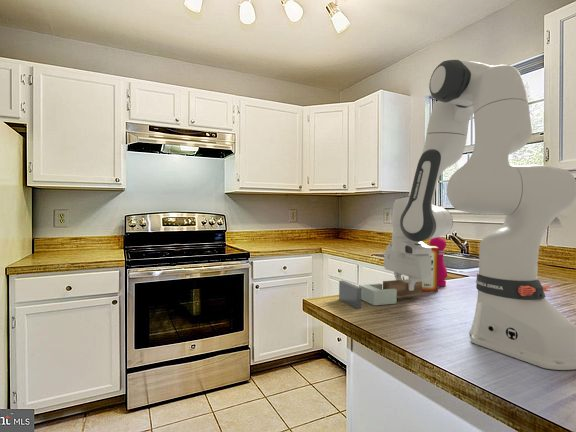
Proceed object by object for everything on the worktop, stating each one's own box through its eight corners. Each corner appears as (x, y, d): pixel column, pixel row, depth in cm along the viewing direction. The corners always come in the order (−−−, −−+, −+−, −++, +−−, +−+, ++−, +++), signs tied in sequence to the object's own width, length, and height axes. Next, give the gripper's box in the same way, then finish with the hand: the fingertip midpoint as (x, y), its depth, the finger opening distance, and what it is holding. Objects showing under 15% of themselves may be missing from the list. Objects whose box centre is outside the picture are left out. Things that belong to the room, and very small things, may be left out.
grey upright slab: (361, 308, 101) (361, 288, 100) (356, 308, 100) (356, 288, 100) (343, 299, 111) (343, 280, 111) (339, 299, 110) (339, 280, 110)
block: (396, 303, 106) (396, 289, 106) (373, 305, 103) (374, 291, 103) (380, 296, 114) (380, 283, 114) (358, 298, 112) (358, 285, 111)
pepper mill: (430, 282, 138) (431, 232, 138) (449, 284, 134) (450, 233, 134) (424, 285, 133) (425, 233, 132) (444, 288, 128) (445, 234, 128)
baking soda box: (435, 288, 128) (436, 245, 128) (438, 292, 122) (438, 247, 122) (408, 286, 131) (409, 244, 131) (409, 290, 125) (410, 245, 124)
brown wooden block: (421, 293, 112) (422, 281, 112) (389, 296, 108) (390, 283, 108) (413, 290, 116) (414, 278, 116) (382, 293, 112) (382, 281, 112)
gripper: (379, 242, 121) (378, 281, 121) (418, 250, 101) (417, 296, 102) (395, 242, 123) (394, 280, 123) (435, 249, 103) (434, 295, 104)
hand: (404, 288), depth 112 cm, fingers closed on brown wooden block, 4 cm apart
